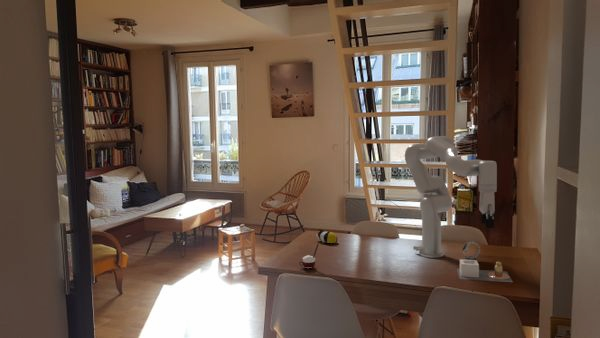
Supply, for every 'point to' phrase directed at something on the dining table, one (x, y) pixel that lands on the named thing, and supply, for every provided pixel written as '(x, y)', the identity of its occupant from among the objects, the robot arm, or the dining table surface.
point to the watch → (466, 247)
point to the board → (484, 276)
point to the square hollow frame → (469, 268)
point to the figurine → (327, 236)
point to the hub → (498, 272)
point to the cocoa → (309, 260)
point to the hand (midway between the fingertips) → (487, 225)
